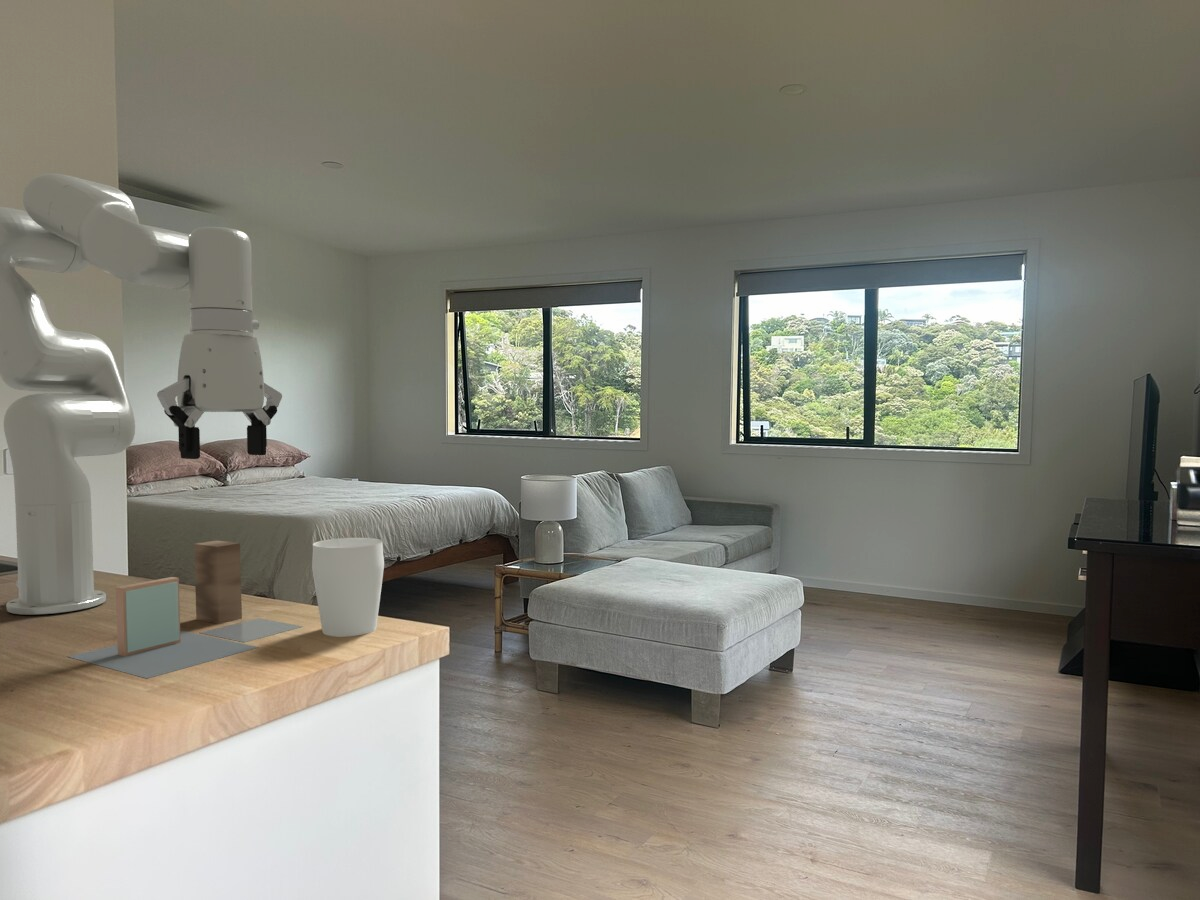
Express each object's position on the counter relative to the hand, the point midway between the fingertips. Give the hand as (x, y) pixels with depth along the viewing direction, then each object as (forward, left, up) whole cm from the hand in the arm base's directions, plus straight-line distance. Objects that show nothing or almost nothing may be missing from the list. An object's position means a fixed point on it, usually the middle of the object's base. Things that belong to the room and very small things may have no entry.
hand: (224, 456), depth 114 cm
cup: (+15, +7, -23) cm, 29 cm away
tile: (+1, -12, -23) cm, 25 cm away
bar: (-5, +2, -23) cm, 24 cm away
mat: (+4, -12, -23) cm, 26 cm away
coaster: (+4, 0, -23) cm, 24 cm away
